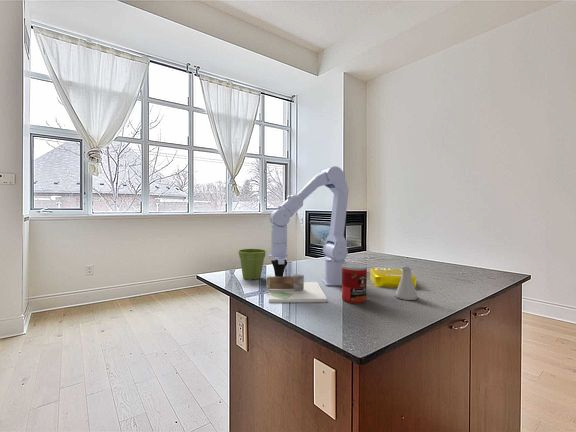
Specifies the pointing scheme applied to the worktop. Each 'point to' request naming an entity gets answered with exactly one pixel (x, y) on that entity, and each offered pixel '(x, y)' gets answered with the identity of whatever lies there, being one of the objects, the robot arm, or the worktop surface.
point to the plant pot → (252, 262)
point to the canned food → (354, 283)
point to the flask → (406, 286)
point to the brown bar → (285, 282)
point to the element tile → (387, 277)
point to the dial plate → (298, 294)
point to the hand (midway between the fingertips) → (278, 280)
